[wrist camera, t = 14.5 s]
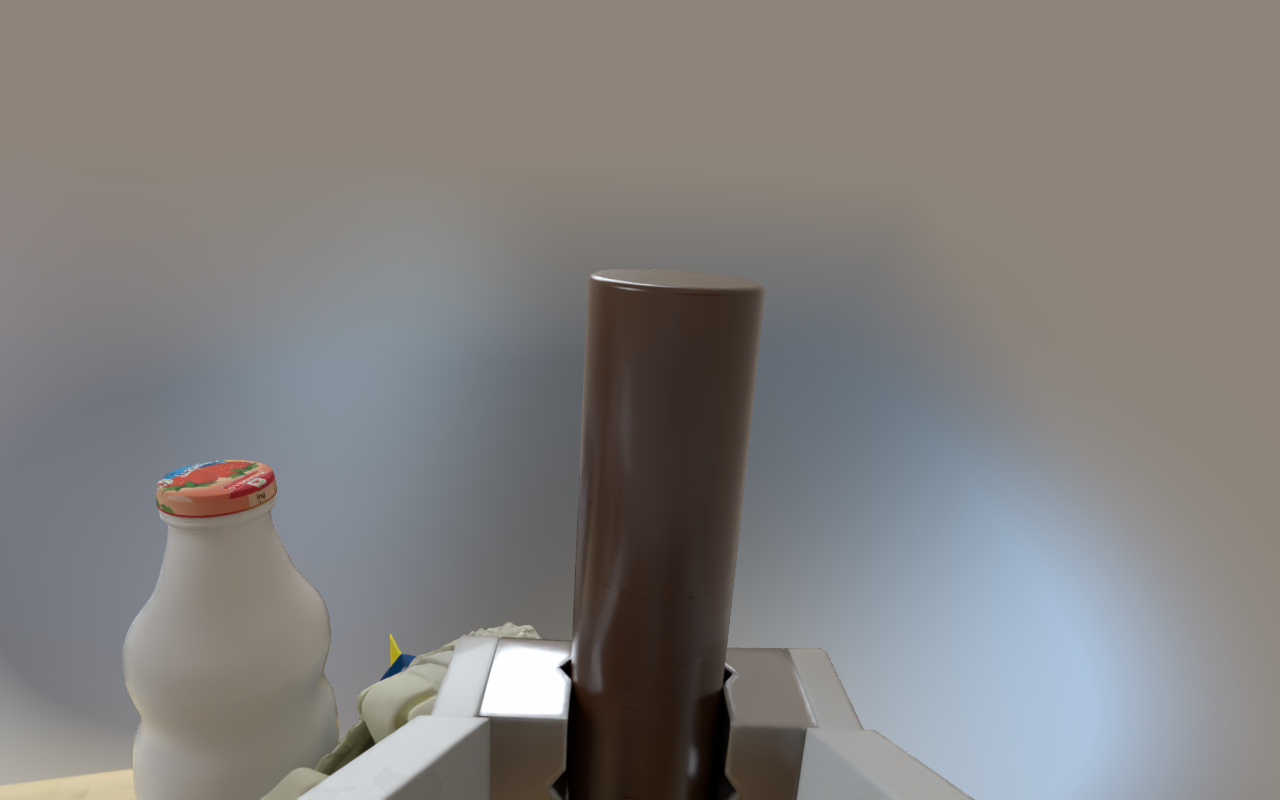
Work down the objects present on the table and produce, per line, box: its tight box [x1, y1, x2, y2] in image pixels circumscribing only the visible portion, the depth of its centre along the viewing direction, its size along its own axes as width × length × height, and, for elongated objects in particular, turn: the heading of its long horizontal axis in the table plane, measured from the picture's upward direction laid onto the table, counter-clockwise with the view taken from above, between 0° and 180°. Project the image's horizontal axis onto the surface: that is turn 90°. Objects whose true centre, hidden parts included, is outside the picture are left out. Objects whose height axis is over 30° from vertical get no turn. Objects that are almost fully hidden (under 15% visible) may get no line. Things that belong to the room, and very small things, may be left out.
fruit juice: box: [122, 460, 340, 800], centre depth 38 cm, size 9×9×28 cm
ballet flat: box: [260, 622, 541, 800], centre depth 34 cm, size 9×24×8 cm, turn 146°
